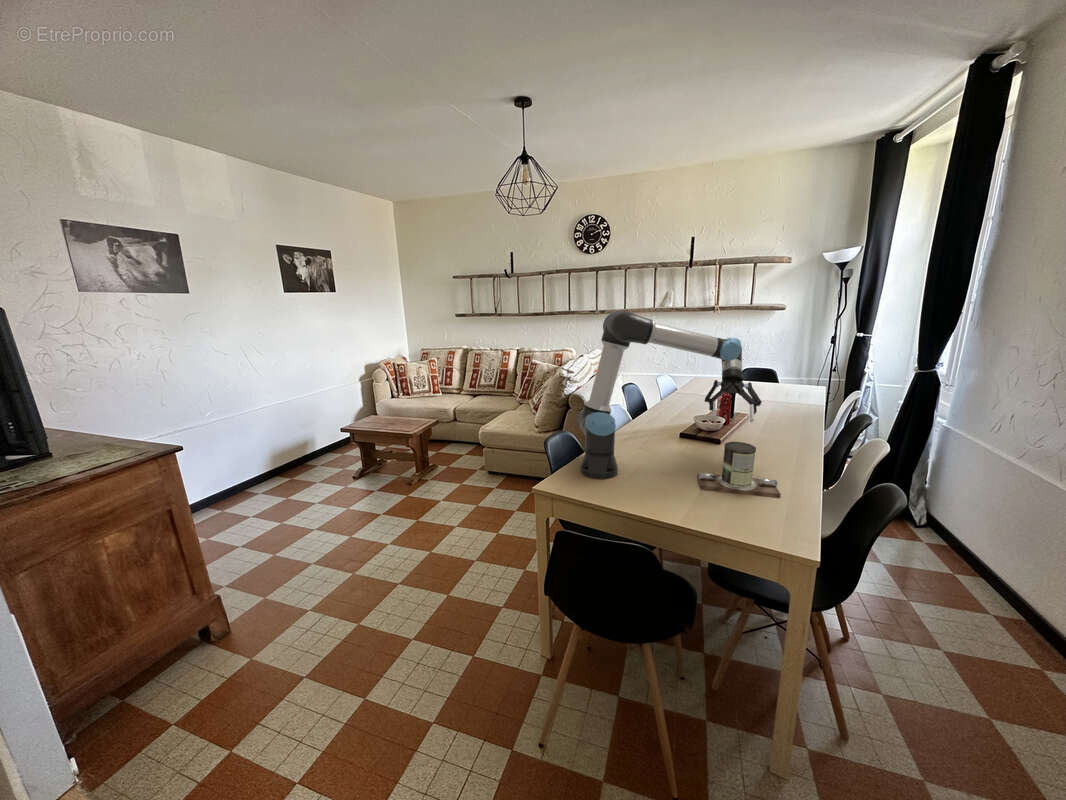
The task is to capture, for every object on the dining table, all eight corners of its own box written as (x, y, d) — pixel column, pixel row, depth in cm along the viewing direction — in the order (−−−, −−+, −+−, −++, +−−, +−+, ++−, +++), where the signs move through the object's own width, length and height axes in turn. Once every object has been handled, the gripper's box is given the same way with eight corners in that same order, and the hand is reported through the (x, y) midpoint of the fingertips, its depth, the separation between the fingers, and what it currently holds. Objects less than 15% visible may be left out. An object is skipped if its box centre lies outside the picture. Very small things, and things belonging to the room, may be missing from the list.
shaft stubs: (699, 480, 154) (700, 474, 154) (698, 477, 157) (699, 471, 156) (776, 487, 147) (777, 481, 147) (774, 485, 150) (775, 479, 149)
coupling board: (700, 489, 150) (701, 485, 149) (697, 475, 162) (697, 471, 161) (780, 498, 143) (781, 493, 142) (770, 482, 155) (771, 478, 155)
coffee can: (715, 481, 153) (719, 445, 149) (728, 474, 159) (732, 439, 156) (744, 490, 145) (748, 453, 142) (756, 482, 151) (761, 446, 148)
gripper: (763, 379, 167) (765, 426, 158) (698, 375, 174) (696, 420, 165) (768, 369, 161) (771, 418, 151) (700, 365, 167) (699, 411, 158)
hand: (732, 419), depth 158 cm, fingers open, 13 cm apart
